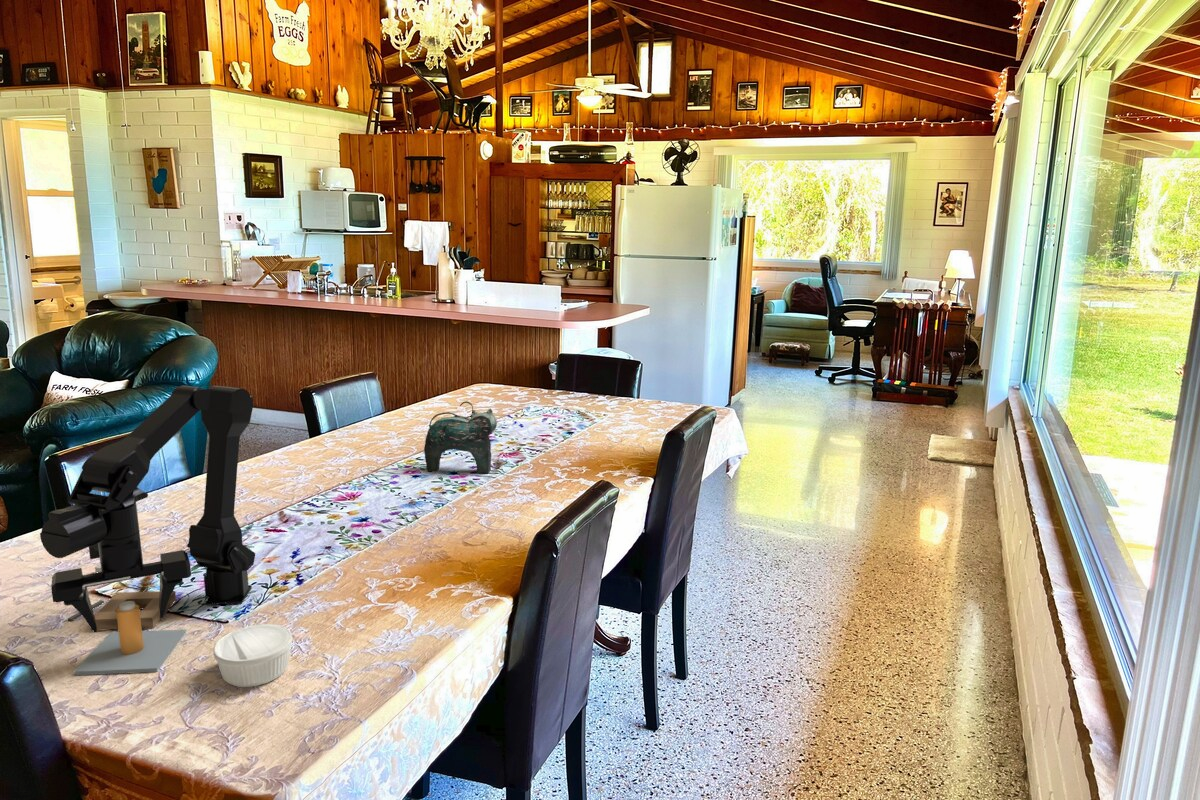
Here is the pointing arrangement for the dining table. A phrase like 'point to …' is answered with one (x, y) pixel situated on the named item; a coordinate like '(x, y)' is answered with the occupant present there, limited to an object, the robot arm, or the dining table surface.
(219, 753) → the dining table surface
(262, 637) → the ramekin
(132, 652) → the orange cylinder
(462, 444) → the green animal figurine
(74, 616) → the strip
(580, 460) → the dining table surface
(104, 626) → the brown square frame
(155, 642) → the rubber mat
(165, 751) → the dining table surface
